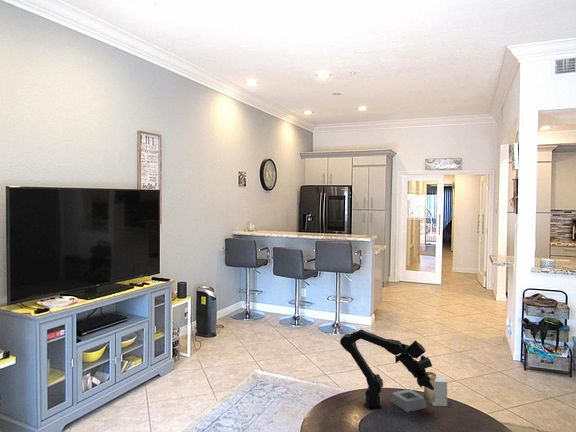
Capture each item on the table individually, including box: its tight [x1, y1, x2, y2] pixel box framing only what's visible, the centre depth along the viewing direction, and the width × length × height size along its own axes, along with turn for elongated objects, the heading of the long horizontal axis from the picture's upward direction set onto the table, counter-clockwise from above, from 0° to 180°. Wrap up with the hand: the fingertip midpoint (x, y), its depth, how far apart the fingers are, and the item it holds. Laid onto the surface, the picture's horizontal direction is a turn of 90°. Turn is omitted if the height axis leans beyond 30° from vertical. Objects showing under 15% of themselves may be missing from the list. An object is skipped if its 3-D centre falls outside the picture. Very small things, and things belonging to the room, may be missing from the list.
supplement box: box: [431, 376, 448, 407], centre depth 212 cm, size 7×7×13 cm
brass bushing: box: [423, 371, 437, 404], centre depth 200 cm, size 6×6×13 cm
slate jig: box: [391, 388, 427, 413], centre depth 210 cm, size 12×12×5 cm
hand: (432, 387), depth 200 cm, fingers closed on brass bushing, 5 cm apart
